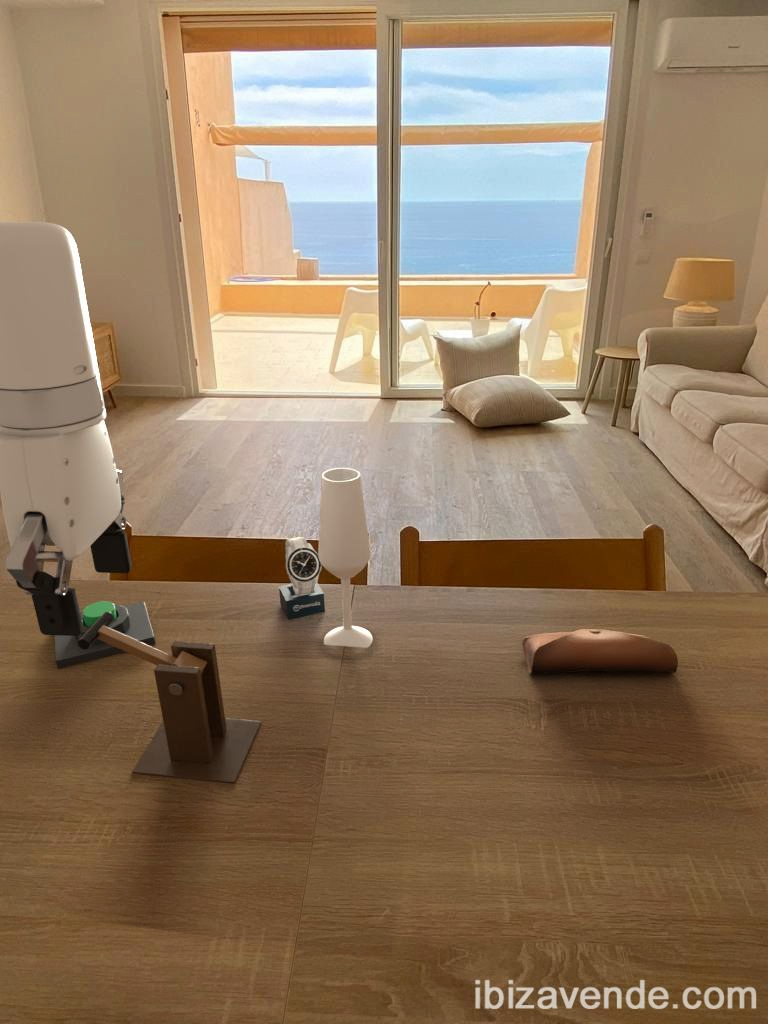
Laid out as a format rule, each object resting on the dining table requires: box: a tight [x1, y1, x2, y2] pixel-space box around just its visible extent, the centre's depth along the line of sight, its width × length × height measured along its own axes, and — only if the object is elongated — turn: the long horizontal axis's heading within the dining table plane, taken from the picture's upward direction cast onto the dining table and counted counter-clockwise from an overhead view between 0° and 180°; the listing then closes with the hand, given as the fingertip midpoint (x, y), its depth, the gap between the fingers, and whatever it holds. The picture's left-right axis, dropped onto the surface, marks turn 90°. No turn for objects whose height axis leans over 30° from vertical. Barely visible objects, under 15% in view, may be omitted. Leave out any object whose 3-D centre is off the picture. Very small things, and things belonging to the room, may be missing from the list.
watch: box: [278, 536, 326, 621], centre depth 99 cm, size 6×8×11 cm
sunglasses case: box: [522, 628, 679, 675], centre depth 88 cm, size 18×7×7 cm
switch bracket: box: [131, 640, 262, 784], centre depth 72 cm, size 11×9×13 cm
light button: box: [82, 600, 117, 627], centre depth 92 cm, size 4×4×2 cm
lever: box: [78, 612, 207, 676], centre depth 70 cm, size 12×5×2 cm, turn 83°
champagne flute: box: [317, 467, 374, 649], centre depth 89 cm, size 7×7×24 cm
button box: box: [53, 600, 157, 670], centre depth 94 cm, size 12×10×4 cm
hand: (90, 600), depth 58 cm, fingers open, 9 cm apart
